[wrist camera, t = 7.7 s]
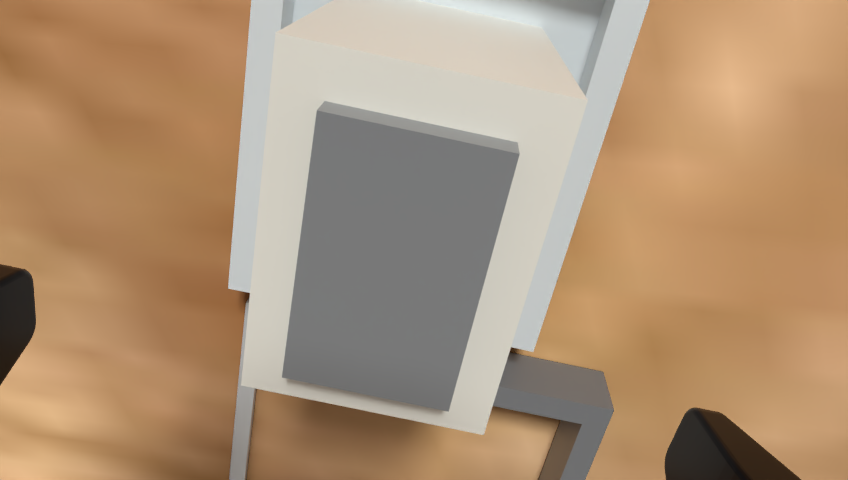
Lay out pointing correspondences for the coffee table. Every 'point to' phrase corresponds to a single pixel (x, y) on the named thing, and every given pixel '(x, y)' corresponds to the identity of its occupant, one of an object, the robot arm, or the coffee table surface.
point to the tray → (526, 3)
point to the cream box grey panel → (404, 205)
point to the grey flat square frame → (518, 390)
